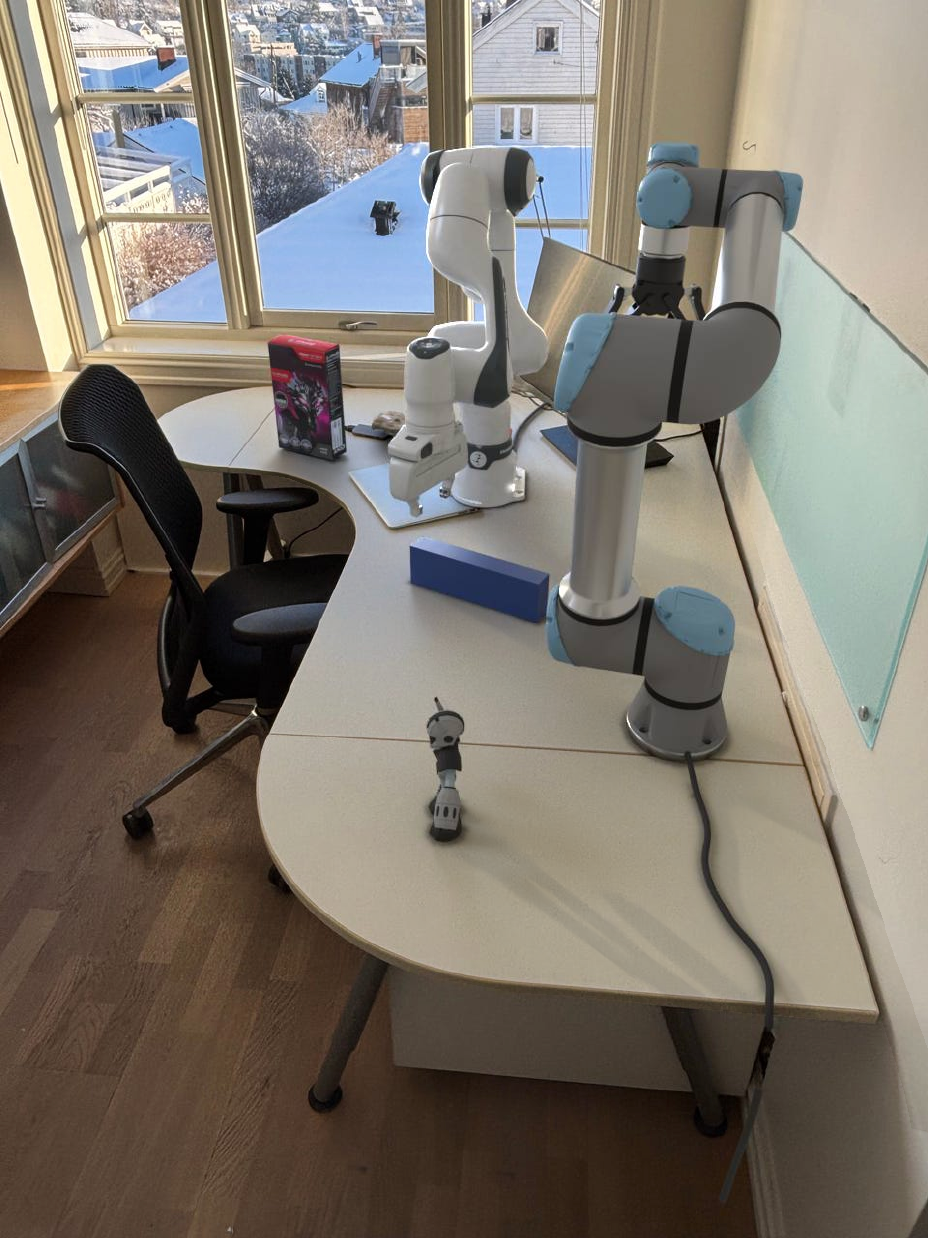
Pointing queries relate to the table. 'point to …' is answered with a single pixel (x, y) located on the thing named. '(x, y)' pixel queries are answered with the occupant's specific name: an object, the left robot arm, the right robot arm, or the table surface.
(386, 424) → the stone
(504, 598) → the bar
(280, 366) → the graphics card box
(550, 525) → the table surface
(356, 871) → the table surface
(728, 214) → the right robot arm
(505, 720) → the table surface
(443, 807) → the robot
